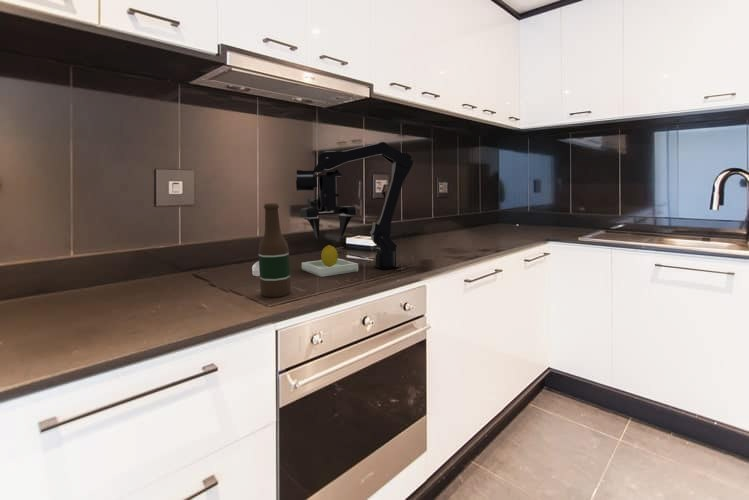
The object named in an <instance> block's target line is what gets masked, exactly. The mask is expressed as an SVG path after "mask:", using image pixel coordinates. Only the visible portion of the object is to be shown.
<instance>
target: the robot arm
mask: <svg viewBox="0 0 749 500" xmlns="http://www.w3.org/2000/svg"><path fill="white" fill-rule="evenodd" d="M375 156H381V157H382V158H384V159H385V160H386V161H388V163H390V164H391V180H390V183H389V187H388V189H387V193H386V197H385V200H384V203H383V207H382V210H381V213H380V216H379V218H378V220H377V222H375V221H373V222H372V226H371V227H372V228H371V230H370V231H369V234H370V239H371V240H372V242H373V244H375V245H376V246H377V248H378V249H376V250H375V252H376V253H375V264H374V265H373V266H374V268H378V269H380V270H390V269H396V268H399V267H400V265H397V244H396V243H395V242H394V241H392V239H391V235H392V234H391V233H392V221H393V219H394V218H393V217H394V215H395V211H396V207H397V204H398V201H399V198H400V194H401V190H402V187H403V184H404V181H405V180H406V179H407V176H408V175H409V173H410V172H411V169H412V167H413V165H414V159H413V157H412V155H410V154H409V153H407V152H401V151H400V150H399V149H396V148H394V147H392V146H391V145H389V144H388V143H387V142H385V141H379V142H378V143H373V144H369V145H365V146H360V147H359V146H358V147H356V148H351V149H347V150H328V151H327V150H326V151H323V152H321V153H320V154H319V156H318V158H317V159H318V163H317V164H316V166H315V167H313V170H302V169H298V170H296V180H295V183H296V184H295V185H296V192H311V191H312V192H315V189H318V184H319V193H317V198H316V199H315V198H313V197H311V198H309V197H308V198H307V200H306V204H307V207H305V208H303V207H302V208H301V209H300V211H299V217H300V218H303V219H304V220H307V221H308V223H309V224H310V227H311V228H312V231H313V233H314V236H315V238H316V239H317V240H319V238H320V221H321V220H320V218H319V217H318V216H324V215H327V216H328V215H337V217H338V220H339V236H340V237H343V236H344V234H345V232H346V229H347V227H348V225H349V223H350V221H351V219H352V218H354V216H355V215H357V209H356V206H353V205H352V206H351V205H347V206H346V205H344V206H340V205H338V198H339V197H340V193H338V189H337V188H338V186H337V185H338V184H337V182H338V181H337V177H340V178H341V177H342V176H343V174H342V173H341V172H340V171H339V170H338V169H335V168H337V167H340V166H342V165H344V164H345V163H346V164H347V163H349V162H354V161H359V160H362V159H367V158H371V157H375ZM332 169H333V170H334V169H335V171H329V170H332ZM323 171H325V174H321V173H323ZM338 214H339V215H338Z"/></svg>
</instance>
